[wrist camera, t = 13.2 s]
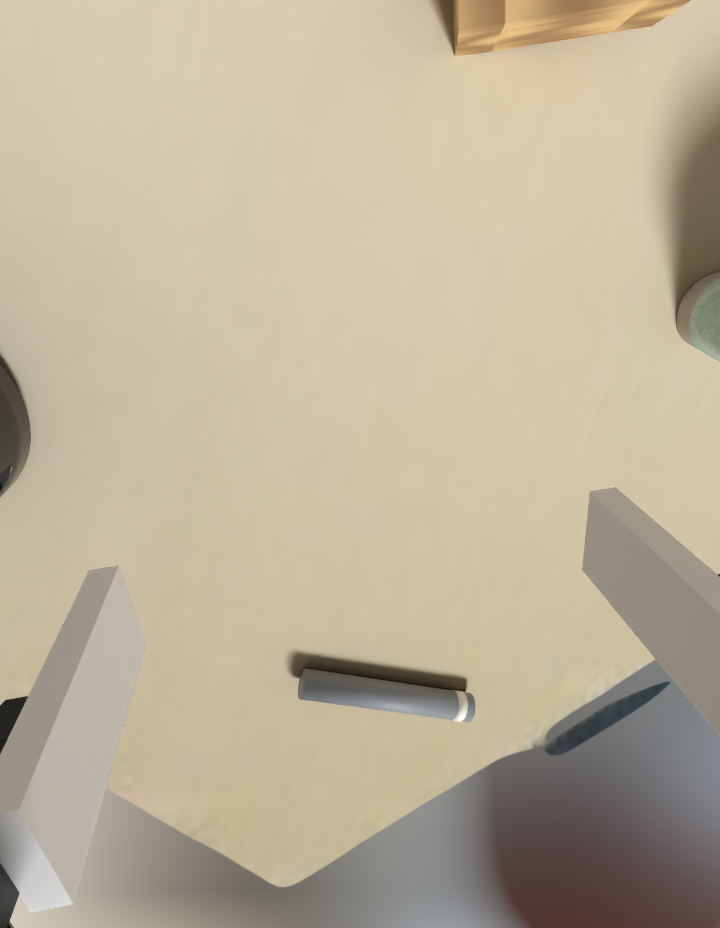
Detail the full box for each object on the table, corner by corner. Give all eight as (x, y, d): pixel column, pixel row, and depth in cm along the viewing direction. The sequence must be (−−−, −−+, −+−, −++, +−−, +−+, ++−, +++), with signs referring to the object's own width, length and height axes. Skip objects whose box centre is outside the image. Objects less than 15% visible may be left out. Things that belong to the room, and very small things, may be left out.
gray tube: (296, 690, 56) (459, 713, 60) (300, 705, 53) (470, 728, 58) (303, 662, 56) (466, 687, 60) (308, 675, 53) (478, 700, 57)
